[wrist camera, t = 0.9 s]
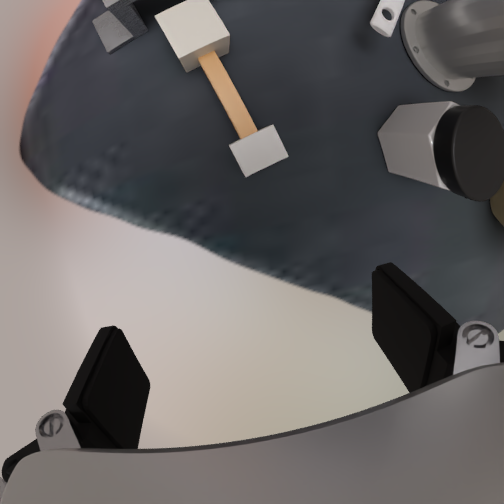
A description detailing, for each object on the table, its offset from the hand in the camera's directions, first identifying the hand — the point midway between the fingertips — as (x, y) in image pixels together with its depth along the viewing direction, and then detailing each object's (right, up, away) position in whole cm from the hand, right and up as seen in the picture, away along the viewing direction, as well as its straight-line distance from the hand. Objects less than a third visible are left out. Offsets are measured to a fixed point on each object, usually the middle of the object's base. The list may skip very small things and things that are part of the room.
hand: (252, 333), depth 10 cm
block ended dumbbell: (-3, +18, +15) cm, 24 cm away
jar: (+18, +15, +19) cm, 30 cm away
